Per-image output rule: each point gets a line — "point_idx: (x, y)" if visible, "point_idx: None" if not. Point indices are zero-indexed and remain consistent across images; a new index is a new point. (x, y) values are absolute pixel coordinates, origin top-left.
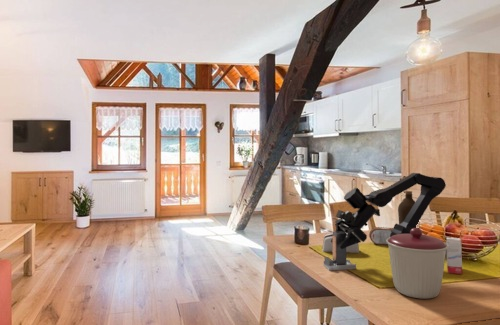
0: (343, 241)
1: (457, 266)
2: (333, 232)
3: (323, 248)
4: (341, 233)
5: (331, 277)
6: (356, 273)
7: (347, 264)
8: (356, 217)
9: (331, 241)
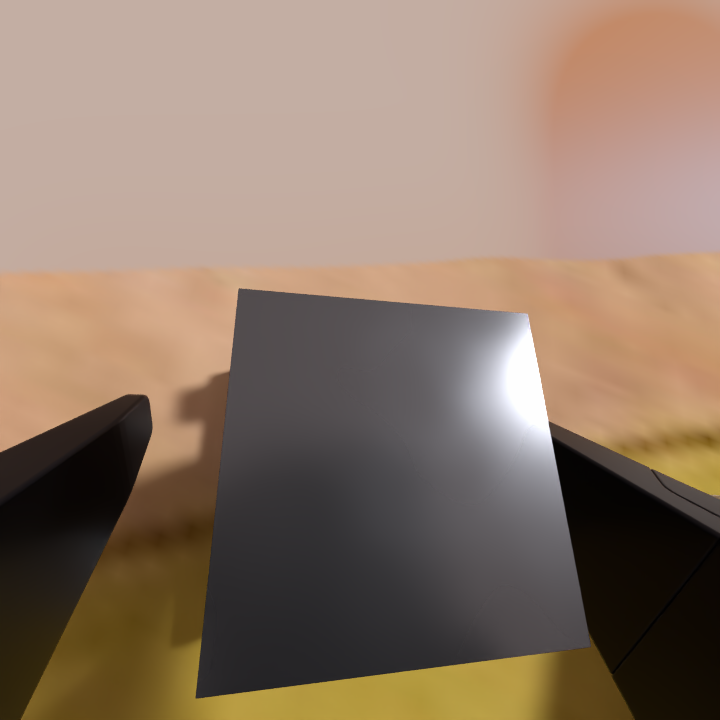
0: (61, 451)
1: None
2: (466, 315)
3: (713, 495)
4: (232, 470)
5: (100, 322)
6: (108, 573)
7: None
8: None
9: None
